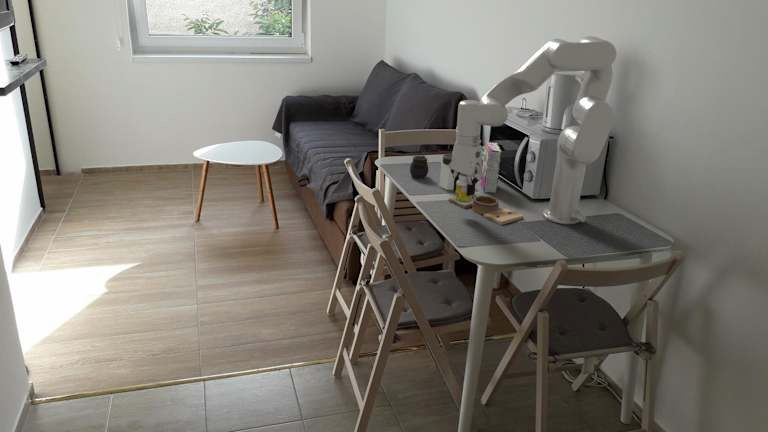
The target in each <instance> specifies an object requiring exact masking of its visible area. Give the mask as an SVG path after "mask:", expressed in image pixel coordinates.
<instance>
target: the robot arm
mask: <svg viewBox="0 0 768 432" xmlns="http://www.w3.org/2000/svg"><path fill="white" fill-rule="evenodd" d="M616 58H617V49H616V46H614V44H613V43H612V42H610V41H609V40H606V39H602V38H600V37H597V36H591V35H589V36H585V37H582V38H581V39H580V40H579V41H577V42H575V41H574V42H572V41H571V42H570V41H567V40H564V39H561V38H552V39H550V40H549V41H547V42H546V43H545V44H544V45H542V46H541V48H540V49H538V50H537V51H536V53H534V54H533V55H532V56H531V57H530V58H529V59H528V60H527V61H526V62H525V63H524V64H523V65H522V66H520V68H518V69H517V70H516V71H515V72H512V73H511V74H510V75H508V76H507V77H505V78H503V79H502V80H500V81H499V82H498V83H496V84H495V85H494V86H493V87H492V88H491V89H490V90H489V91H488V92H486V94H485V95H484V96H482V98H481V99H480V101H478V100H473V99H465V100H461V101H460V102H459V103H458V108H457V121H456V135H455V142H454V144H453V149H452V153H451V154H452V161H451V162H450V164H449V165H448V167H449V168H450V170H451V173H452V175H453V179H454V188H453V190H452V191H455V192H456V182H457V180H459V174H460V173H462V174H465V175H468V181H469V184H468V185H467V196H470V195H476V194H475V193H476V184H477V183H478V182H479V181H481V179H482V178H483V177H484V176H483V174H482V167H483V149H482V145H481V143H482V140H481V130H482V129H481V126H488V127H500V126H503V125H504V124H505V123H506V122H507V121H508V118H509V112H508V111H509V110H508V109H507V107H506V106H507V105H508V104H509V103H510V102H511V101H513V100H514V99H515V98H517V97H519V96H522V95H525V94H529V93H533V92H536V91H537V90H538V89H540V87H541V86H542V85H543V84H545V82H547V81H548V80H549V79H550V78H551V77H552V76H554V74H555V73H557V71H560V72H584V73H583V80H582V83H581V86H580V88H579V89H580V90H579V91H578V94H577V97H576V100H575V103H574V105H573V107H572V116H573V118H574V120H575V121H576V122H577V123H579V124H580V126H577V125H570V126H567V127H566V128H564V129H563V130H562V131H561V132H560V134H559V136H558V139H557V146H556V148H557V151H556V161H555V169H554V174H553V179H552V180H553V181H552V186H551V194H550V197H549V198H550V200H549V204H548V208H544V210H543V212H542V215H543V217H544V218H545V219H546V220H548V221H550V222H554V223H556V224H562V225H576V224H578V223H580V222H581V223H584V222H585V221H586V218H587V214H584V213H581V211H582V210H581V209H582V208H580V207H579V205H580V204H579V203H580V200H581V194H582V189H583V183H584V178H585V173H586V167H587V166H586V165H589V164H591V163H594V162H595V161H596V160H597V159H598V158H599V157H600V155H601V152H603V151H602V150H603V148H604V146H605V144H606V141H607V138H608V136H609V133H610V131H611V128H612V126H613V122H614V111H613V107H612V106H611V105H610V104H609V103H608V102H606V100H607V97H608V95H609V91H610V88H611V84H612V81H613V73H614V72H613V66H612V65H613V64H614V63H615V62H616Z"/></svg>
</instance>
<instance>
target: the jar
mask: <svg viewBox="0 0 768 432" xmlns="http://www.w3.org/2000/svg"><path fill="white" fill-rule="evenodd" d="M451 161H452V153H445V154H443V155H442V162H441V165H440V173H439V184H438V187H439V188H441V189H444V190H446V191H454V190H453V188H454V179H453V175H452V173H451V170H450V168H449V167H448V165H449V164H450V162H451Z"/></svg>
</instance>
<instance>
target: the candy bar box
mask: <svg viewBox="0 0 768 432" xmlns="http://www.w3.org/2000/svg"><path fill="white" fill-rule="evenodd" d="M501 157H502V150H501V147H500V145H499V144H498V143H497V142H489V141H488V142H484V150H483V157H482V174H483V176H484V177H483V178H482V179H480V185H481V187H482V189H483V192H484V193H487V194H489V193H491V194H497V189H498V182H499V176H500V175H499V174H500V166H501V159H502V158H501Z"/></svg>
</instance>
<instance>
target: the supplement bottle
mask: <svg viewBox="0 0 768 432" xmlns="http://www.w3.org/2000/svg"><path fill="white" fill-rule="evenodd" d="M468 184H469V181H468V175H465V174H462V173H460V174H459V180H457V182H456V191H455V196H454V197H455V201H456V202H457V203H459V204H469V203H471V200H472V195H470V196H467V185H468Z"/></svg>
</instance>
